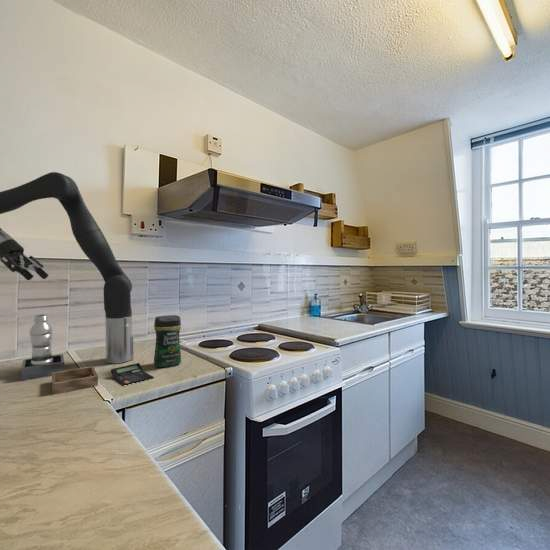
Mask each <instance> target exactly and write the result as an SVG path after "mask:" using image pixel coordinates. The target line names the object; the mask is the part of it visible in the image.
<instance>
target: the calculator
mask: <svg viewBox="0 0 550 550" xmlns="http://www.w3.org/2000/svg"><path fill="white" fill-rule="evenodd" d="M110 372H111V375H112V377H113V379H114V380H115V381H116V382H117V381H118V383H119V384H120V383H121V384H120V385H122V384H123V385H127V386H129V385H128V384H131V385H133V384H132V383H135V384H138V383H137V382H139V383H142V382H146V381H149V379H150V380H153V379H154V376H153V375H151V374H149V373H147V372H146V371H144V369H143V367H142V365H141V364H140V362H138V363H133V364H128V365H125V366H120V367H115V368H111V369H110ZM145 380H146V381H145ZM141 381H142V382H141ZM123 385H122V386H123Z"/></svg>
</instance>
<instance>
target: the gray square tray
mask: <svg viewBox="0 0 550 550" xmlns="http://www.w3.org/2000/svg"><path fill="white" fill-rule="evenodd" d="M52 358H53V362H54V363H52V364H45V365H38V366H32V367H30V365H31V361H32V358H26V359H23V360H22V363H21V369H20V372H21V375H20V377H21V378H20V379H21V381H22V382H24V381H28V380H36V379H41V378H46V377H52V373H54V372H60V371H66V370H65V359H64V354H56V355H52Z"/></svg>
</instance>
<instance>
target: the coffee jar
mask: <svg viewBox="0 0 550 550" xmlns="http://www.w3.org/2000/svg"><path fill="white" fill-rule="evenodd" d="M153 327H154V331H155V347H154V348H155V349H154V357H153V364H154V365H155V367H157V368H158V367H159V368H167V367H174V366H178V365H181V362H182V355H181V346H180V343H181V342H180V331H181V329H182V322H181V317H180V316H179V315H176V314H171V315H160V316H155V318H154V324H153Z"/></svg>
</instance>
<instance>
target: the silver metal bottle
mask: <svg viewBox="0 0 550 550" xmlns="http://www.w3.org/2000/svg"><path fill="white" fill-rule="evenodd" d="M33 317H34V319H33V321H34V324H33V325H32V326H31V328H30V329H29V336H30V337H29V338H30V342H31V359H32V361H31V365H30V367H32V366H38V365H45V364H52V363H54V362H53V358H52V356H53V351H52V337H53V327H52V326H51V325H50V323H49V322H48V320H49V318H48V314H37V315H34V316H33Z"/></svg>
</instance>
